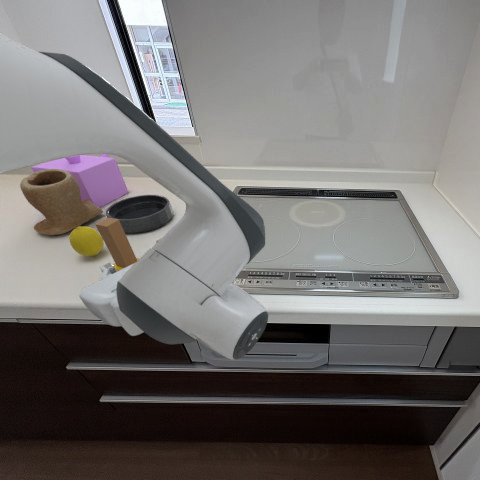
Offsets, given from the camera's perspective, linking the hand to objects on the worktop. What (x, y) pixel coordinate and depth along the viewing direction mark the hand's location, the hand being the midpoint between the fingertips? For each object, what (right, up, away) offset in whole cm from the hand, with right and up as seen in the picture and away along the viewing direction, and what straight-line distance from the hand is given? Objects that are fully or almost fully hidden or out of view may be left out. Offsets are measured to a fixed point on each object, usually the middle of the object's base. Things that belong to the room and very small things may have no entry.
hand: (135, 254), depth 47 cm
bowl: (-17, +8, +29) cm, 34 cm away
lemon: (-20, -1, +15) cm, 25 cm away
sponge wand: (-7, -6, +9) cm, 13 cm away
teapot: (-41, +17, +39) cm, 59 cm away
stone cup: (-34, +7, +26) cm, 43 cm away
